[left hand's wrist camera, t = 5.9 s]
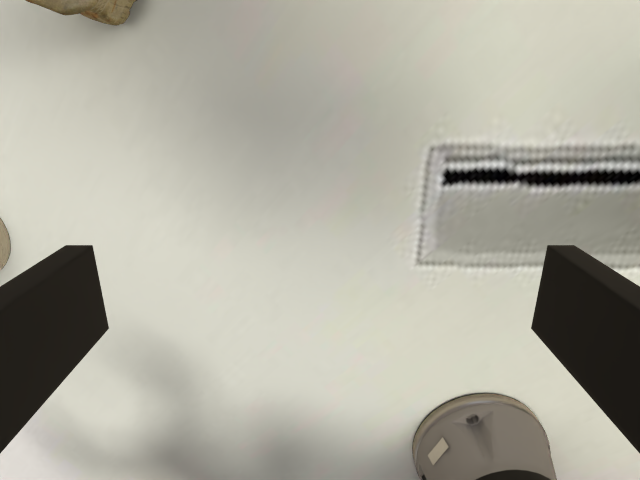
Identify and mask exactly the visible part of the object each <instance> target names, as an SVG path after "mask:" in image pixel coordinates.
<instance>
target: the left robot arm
mask: <svg viewBox="0 0 640 480" xmlns="http://www.w3.org/2000/svg"><path fill="white" fill-rule="evenodd" d="M108 329H109V327H108V322H107V317H106V312H105V307H104V302H103V297H102V292H101V286H100V281H99V276H98V271H97V266H96V261H95V256H94V251H93V246H92V245H66V246H64V247H63V248H61V249H59V250H58V251H56V252H55V253H53V254H51V255H50V256H48V257H47V258H45V259H44V260H42V261H40V262H39V263H37V264H36V265H34V266H32V267H31V268H29V269H28V270H26V271H24V272H23V273H21V274H20V275H18V276H17V277H15V278H13V279H12V280H10V281H9V282H7V283H5V284H4V285H2V286H1V287H0V453H1V452H2V451H3V450H4V448H5V447H6V446H7V445H8V444H9V443H10V442H11V440H12V439H13V438H14V437H15V436H16V435H17V433H18V432H19V431H20V430H21V429H22V428H23V427H24V425H25V424H26V423H27V422H28V421H29V420H30V418H31V417H32V416H33V415H34V414H35V413H36V412H37V410H38V409H39V408H40V407H41V406H42V405H43V404H44V402H45V401H46V400H47V399H48V398H49V397H50V395H51V394H52V393H53V392H54V391H55V390H56V389H57V387H58V386H59V385H60V384H61V383H62V382H63V380H64V379H65V378H66V377H67V376H68V375H69V374H70V372H71V371H72V370H73V369H74V368H75V367H76V366H77V364H78V363H79V362H80V361H81V360H82V359H83V357H84V356H85V355H86V354H87V353H88V352H89V351H90V349H91V348H92V347H93V346H94V345H95V344H96V343H97V341H98V340H99V339H100V338H101V337H102V336H103V334H104V333H105V332H106V331H107V330H108ZM531 329H532V330H533V331H534V332H535V333H536V334H537V336H538V337H539V338H540V339H541V340H542V341H543V343H544V344H545V345H546V346H547V347H548V348H549V349H550V351H551V352H552V353H553V354H554V355H555V356H556V357H557V359H558V360H559V361H560V362H561V363H562V364H563V366H564V367H565V368H566V369H567V370H568V371H569V372H570V374H571V375H572V376H573V377H574V378H575V379H576V380H577V382H578V383H579V384H580V385H581V386H582V387H583V389H584V390H585V391H586V392H587V393H588V394H589V395H590V397H591V398H592V399H593V400H594V401H595V402H596V404H597V405H598V406H599V407H600V408H601V409H602V410H603V412H604V413H605V414H606V415H607V416H608V417H609V418H610V420H611V421H612V422H613V423H614V424H615V425H616V427H617V428H618V429H619V430H620V431H621V432H622V433H623V435H624V436H625V437H626V438H627V439H628V440H629V442H630V443H631V444H632V445H633V446H634V447H635V448H636V450H637V451H638V452H639V453H640V287H639V286H638V285H636V284H635V283H633V282H631V281H630V280H628V279H627V278H625V277H623V276H622V275H620V274H619V273H617V272H616V271H614V270H612V269H611V268H609V267H608V266H606V265H604V264H603V263H601V262H600V261H598V260H596V259H595V258H593V257H592V256H590V255H589V254H587V253H585V252H584V251H582V250H581V249H579V248H577V247H576V246H574V245H548V246H547V251H546V256H545V261H544V266H543V271H542V276H541V281H540V286H539V292H538V297H537V302H536V307H535V312H534V317H533V322H532V327H531Z"/></svg>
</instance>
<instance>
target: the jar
mask: <svg viewBox="0 0 640 480" xmlns="http://www.w3.org/2000/svg"><path fill="white" fill-rule="evenodd" d="M9 254H10V239H9V235H8V232H7V229H6V227H5V225H4V223H3V222H2V220H1V219H0V270H1V269H2V268H3V267H4V265H5V264H6V262H7V260H8V258H9Z"/></svg>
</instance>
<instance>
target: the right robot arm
mask: <svg viewBox="0 0 640 480" xmlns="http://www.w3.org/2000/svg"><path fill="white" fill-rule="evenodd" d="M413 457H414V461H415V465H416V469H417V473H418V475H419V477H420V479H421V480H557V479H556V475H555V470H554V466H553V462H552V459H551V452H550V446H549V441H548V438H547V435H546V433H545V430H544V429H543V427H542V425H541V424H540V422H539V421H538V419H537V418H536V416H535V415H534V414H533V412H532V411H531V410H530V409H529V408H528V407H526V406H525V405H524V404H522V403H520V402H519V401H517V400H515V399H512V398H509V397H506V396H502V395H497V394H474V395H468V396H464V397H460V398H457V399H455V400H452V401H450V402H448V403H446V404H444V405H442V406H440V407H439V408H437V409H436V410H435V411H433V412H432V413H431V414H430V415H429V416H428V417H427V418H426V419H425V420H424V421H423V423H422V424H421V425H420V427H419V429H418V431H417V433H416V435H415V438H414V442H413Z"/></svg>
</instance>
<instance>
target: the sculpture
mask: <svg viewBox="0 0 640 480" xmlns="http://www.w3.org/2000/svg"><path fill="white" fill-rule="evenodd" d="M26 1H28V2H31V3H34V4H37V5H40V6H42V7H45V8H47V9H50V10H52V11H55V12H57V13H60V14H62V15H73V14H78V13H80V14H82V15H84V16H86V17H88V18H90V19H93V20H96V21H99V22H102V23H106V24H110V25H119V24H123V23H124V22H125V21H126V19H127V18H128V16H129V14H130V12H129V10H130V8H131V6H132V4H133V2H135V1H137V0H26Z"/></svg>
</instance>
